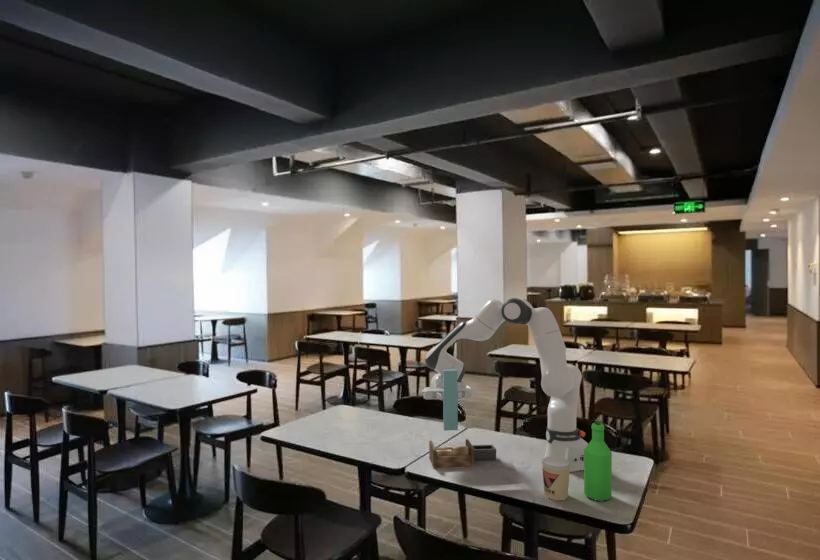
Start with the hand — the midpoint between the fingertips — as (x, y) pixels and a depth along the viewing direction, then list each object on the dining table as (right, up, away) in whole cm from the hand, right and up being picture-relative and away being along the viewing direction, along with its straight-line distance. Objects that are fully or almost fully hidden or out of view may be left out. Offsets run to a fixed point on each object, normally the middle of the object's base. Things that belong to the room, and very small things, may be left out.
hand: (450, 397), depth 196 cm
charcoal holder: (+13, -27, +3) cm, 30 cm away
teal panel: (0, -13, +1) cm, 13 cm away
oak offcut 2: (+4, -25, -3) cm, 26 cm away
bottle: (+48, -27, -28) cm, 62 cm away
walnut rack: (0, -27, -1) cm, 27 cm away
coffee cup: (+34, -27, -27) cm, 52 cm away
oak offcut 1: (-3, -25, -4) cm, 26 cm away
